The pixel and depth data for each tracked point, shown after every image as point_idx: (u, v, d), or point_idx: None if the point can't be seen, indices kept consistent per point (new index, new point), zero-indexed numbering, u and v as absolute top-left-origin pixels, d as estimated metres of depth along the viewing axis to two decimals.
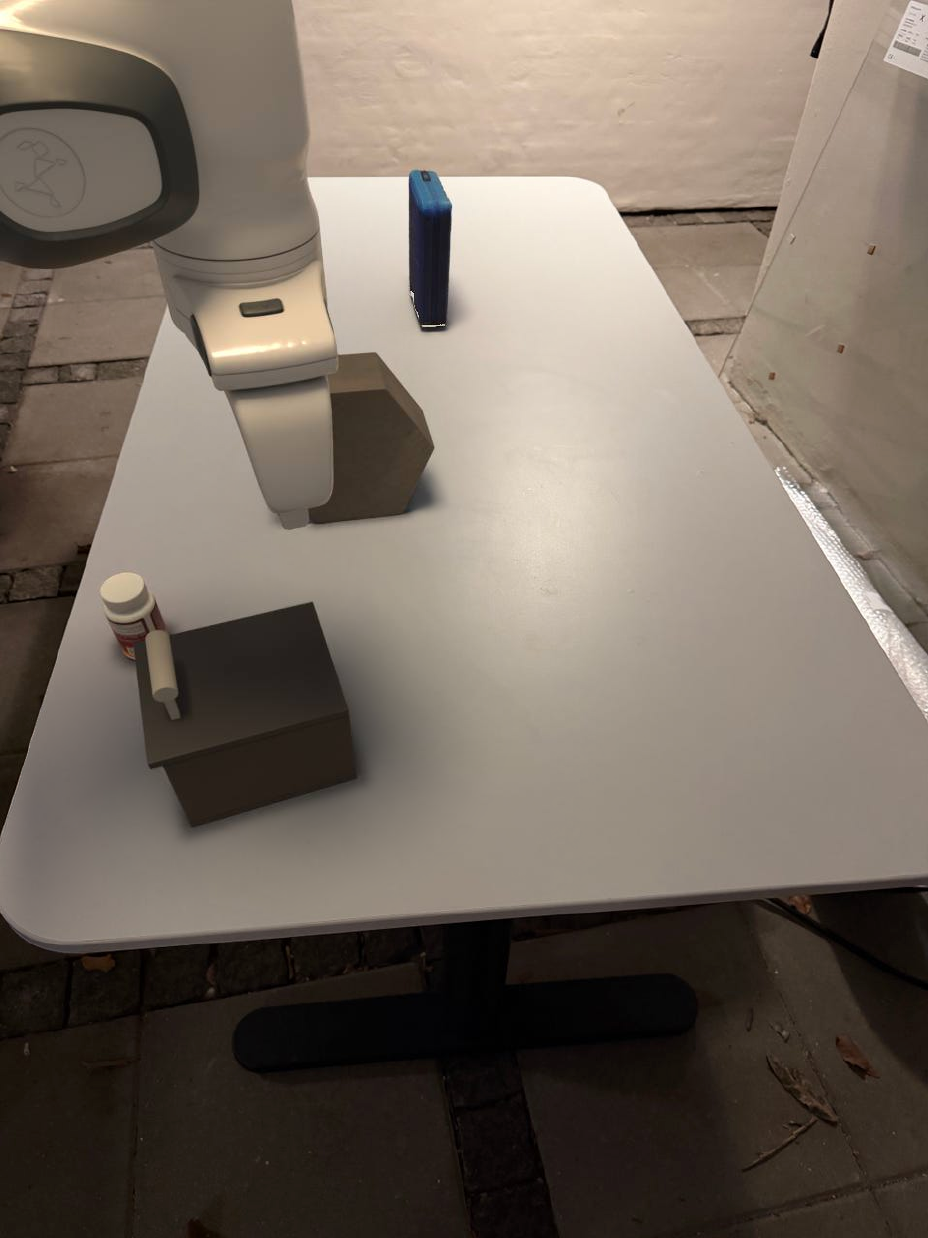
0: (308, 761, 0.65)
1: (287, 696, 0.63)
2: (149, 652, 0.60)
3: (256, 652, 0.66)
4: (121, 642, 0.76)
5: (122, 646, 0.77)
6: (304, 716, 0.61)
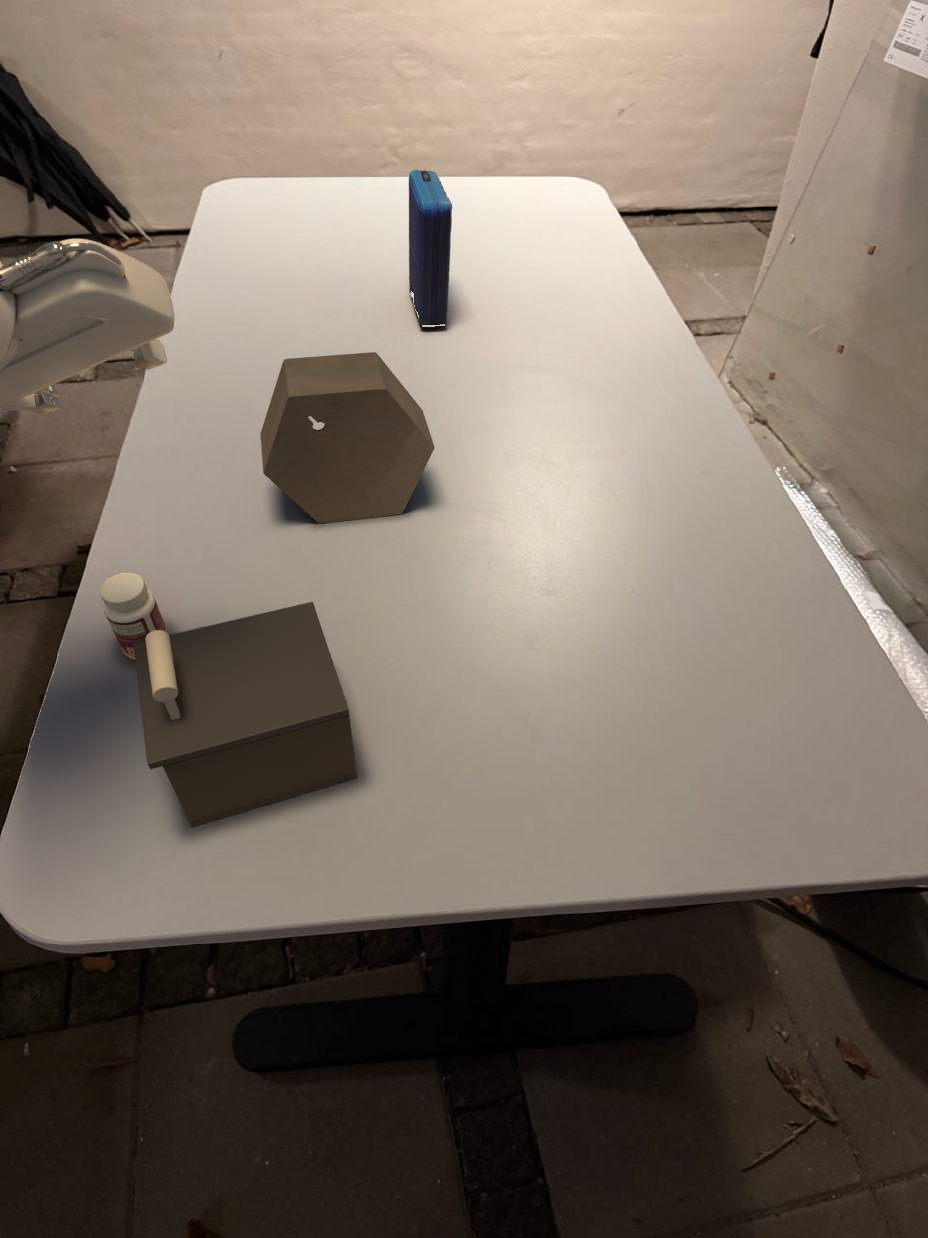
0: (308, 761, 0.65)
1: (287, 696, 0.63)
2: (149, 652, 0.60)
3: (256, 652, 0.66)
4: (121, 642, 0.76)
5: (122, 646, 0.77)
6: (304, 716, 0.61)
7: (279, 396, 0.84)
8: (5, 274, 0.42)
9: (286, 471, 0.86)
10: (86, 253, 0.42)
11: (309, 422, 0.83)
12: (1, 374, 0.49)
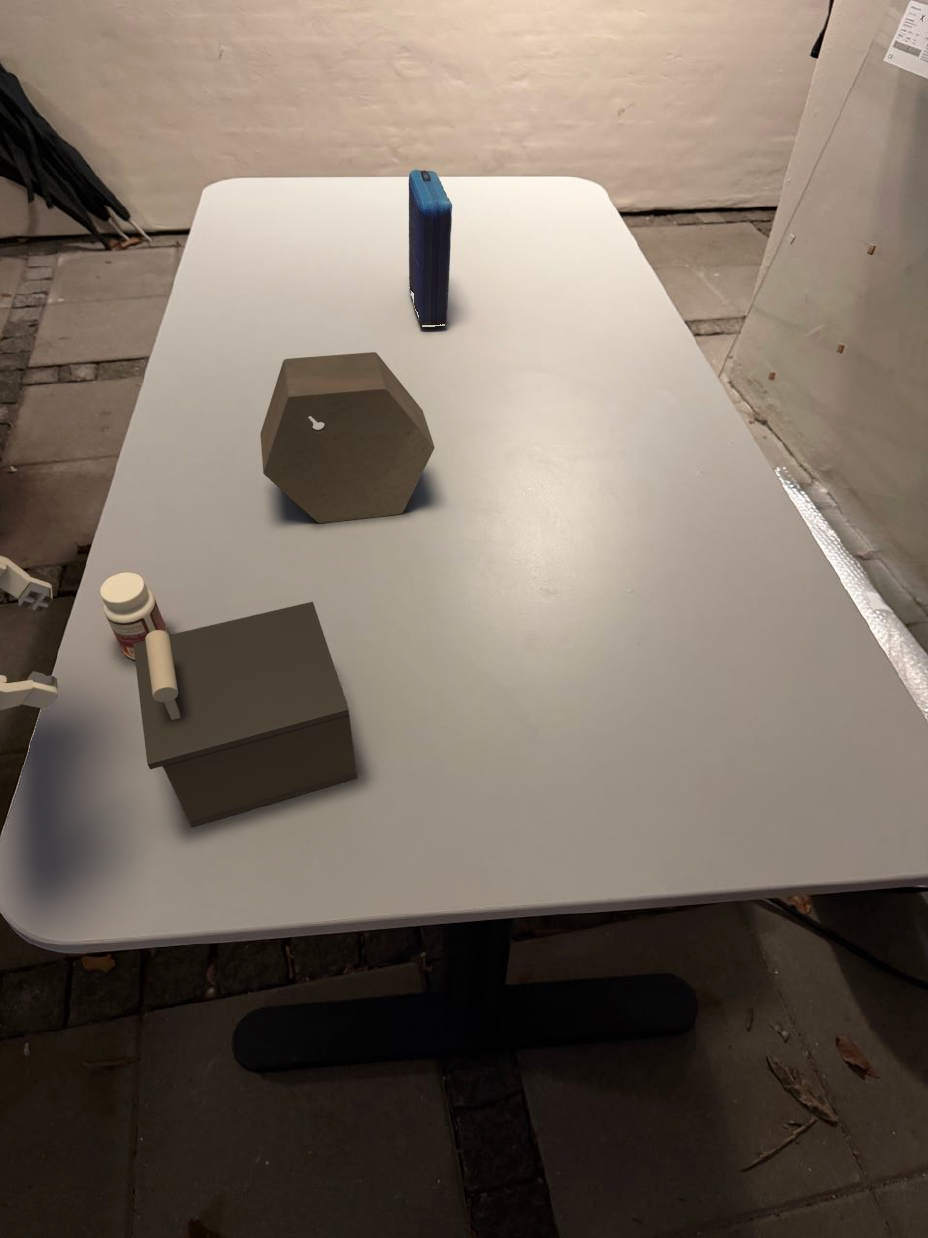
0: (308, 761, 0.65)
1: (287, 696, 0.63)
2: (149, 652, 0.60)
3: (256, 652, 0.66)
4: (121, 642, 0.76)
5: (122, 646, 0.77)
6: (304, 716, 0.61)
7: (279, 396, 0.84)
8: None
9: (286, 471, 0.86)
10: None
11: (309, 422, 0.83)
12: None
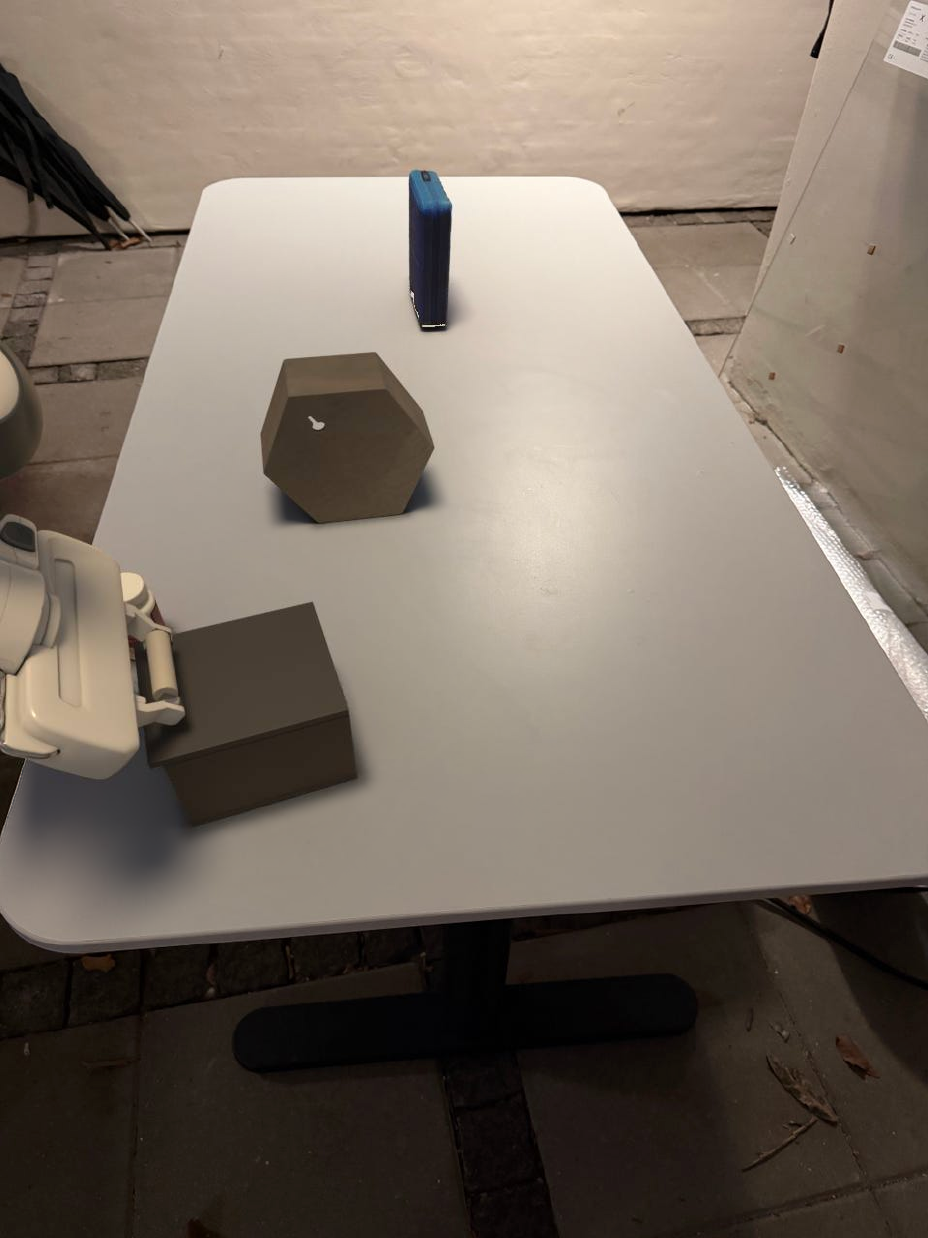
0: (308, 761, 0.65)
1: (287, 696, 0.63)
2: (149, 652, 0.60)
3: (256, 652, 0.66)
4: None
5: None
6: (304, 716, 0.61)
7: (279, 396, 0.84)
8: None
9: (286, 471, 0.86)
10: (0, 747, 0.46)
11: (309, 422, 0.83)
12: None
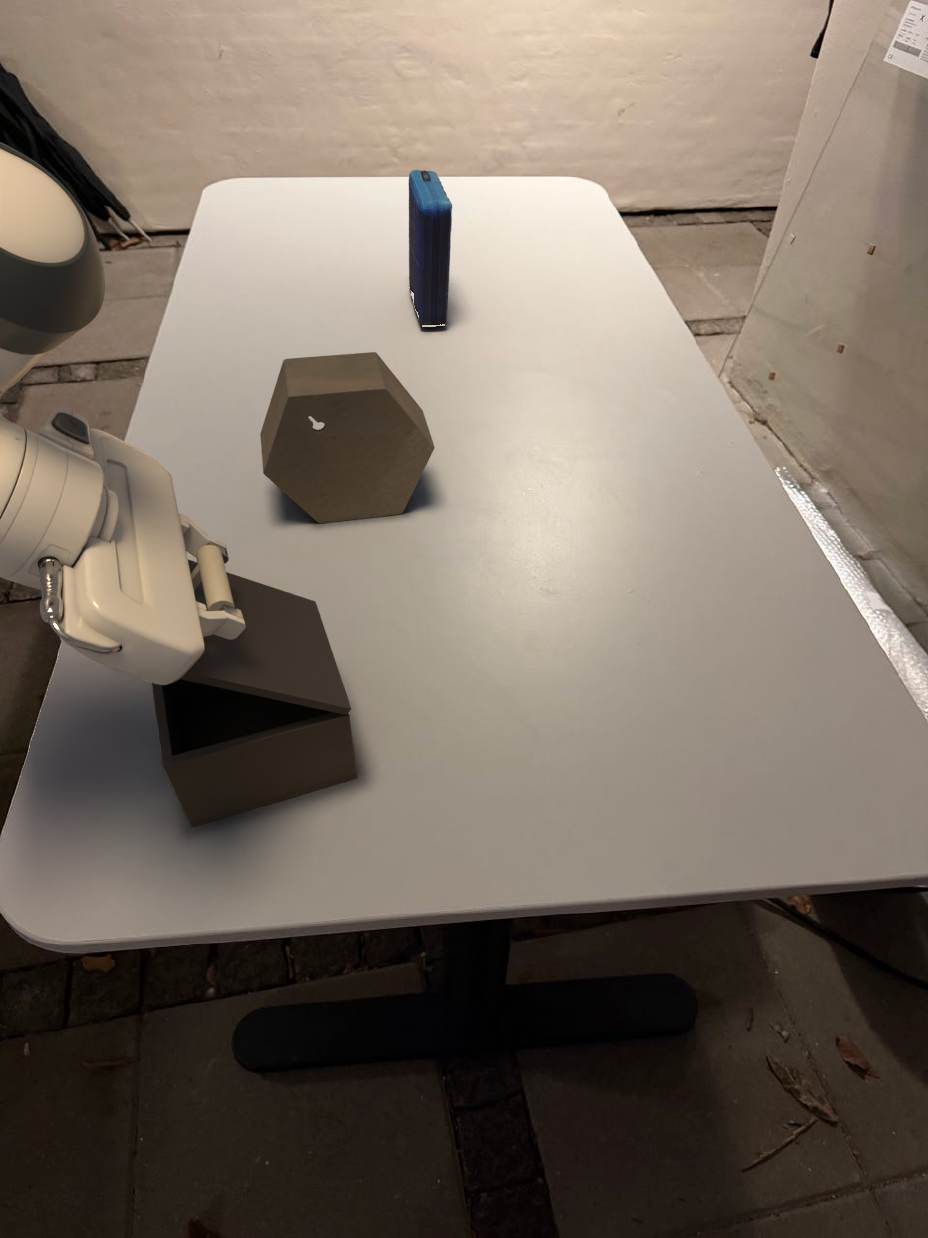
0: (308, 761, 0.65)
1: (298, 671, 0.61)
2: (208, 562, 0.56)
3: (269, 618, 0.63)
4: None
5: None
6: (315, 696, 0.60)
7: (279, 396, 0.84)
8: (39, 575, 0.44)
9: (286, 471, 0.86)
10: (60, 638, 0.42)
11: (309, 422, 0.83)
12: None
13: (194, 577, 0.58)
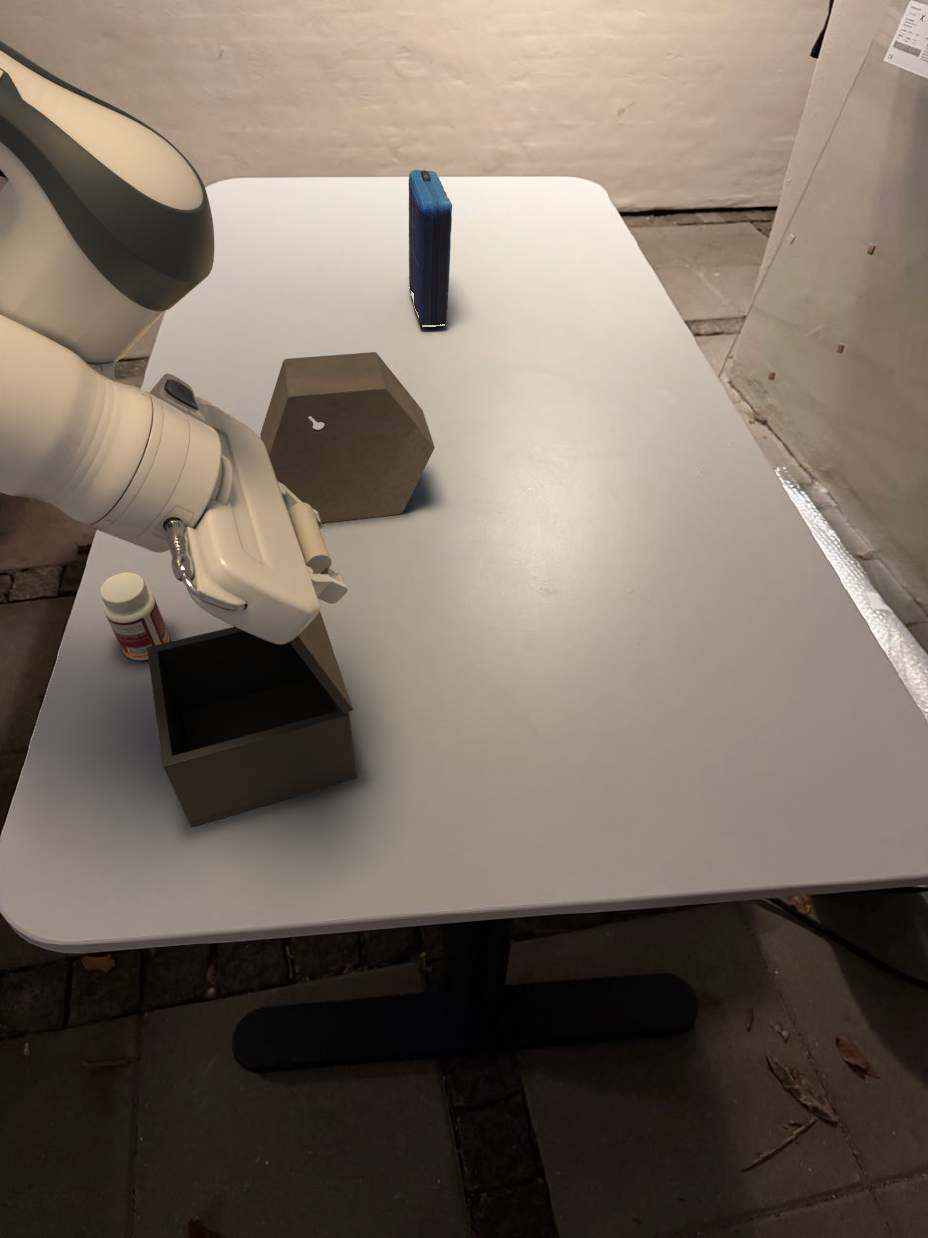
0: (308, 761, 0.65)
1: (324, 655, 0.61)
2: (310, 518, 0.56)
3: None
4: (121, 642, 0.76)
5: (122, 646, 0.77)
6: (336, 683, 0.60)
7: (279, 396, 0.84)
8: (166, 535, 0.45)
9: (286, 471, 0.86)
10: (192, 595, 0.43)
11: (309, 422, 0.83)
12: None
13: None
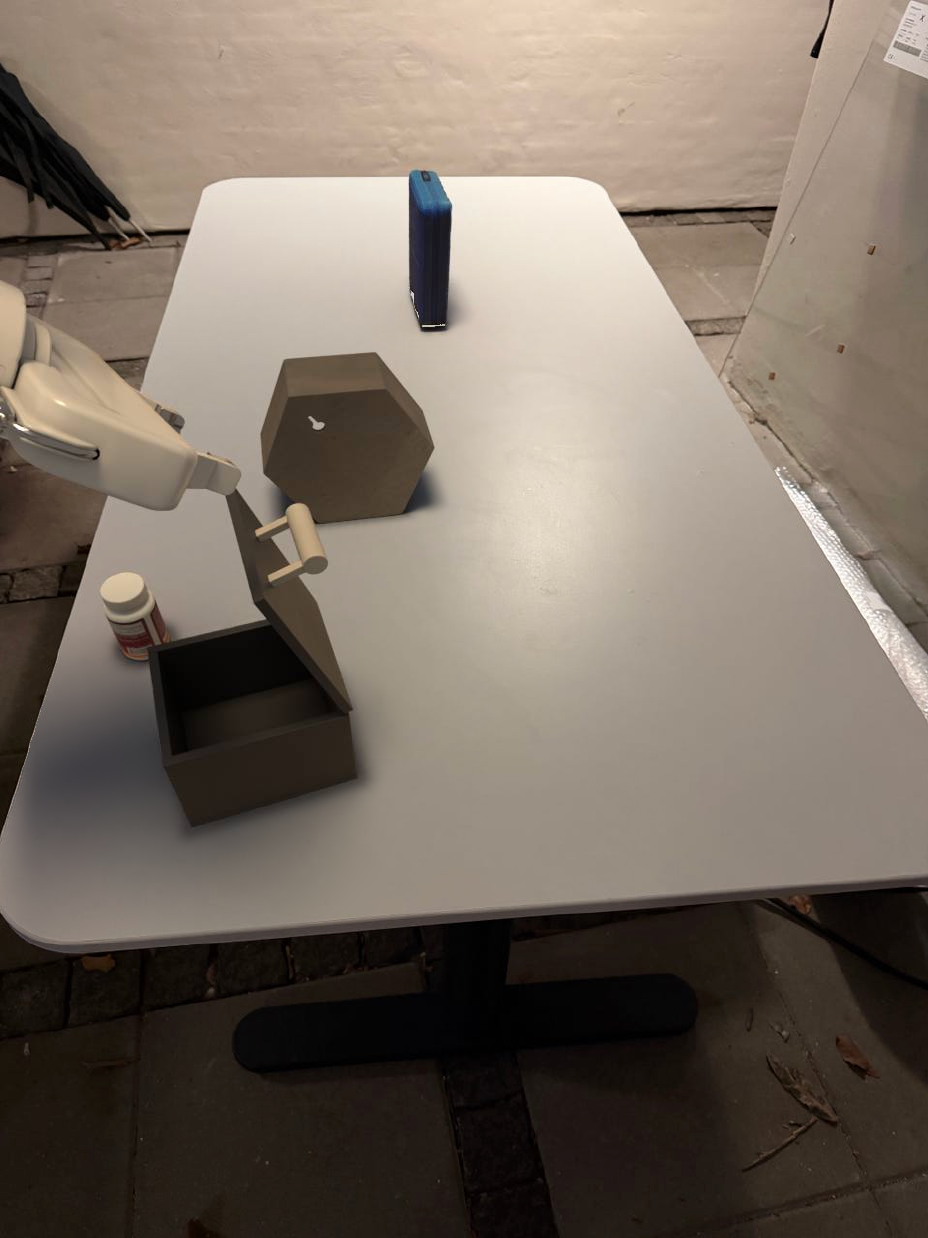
0: (308, 761, 0.65)
1: (323, 655, 0.61)
2: (306, 519, 0.56)
3: (300, 597, 0.63)
4: (121, 642, 0.76)
5: (122, 646, 0.77)
6: (335, 684, 0.60)
7: (279, 396, 0.84)
8: None
9: (286, 471, 0.86)
10: (19, 437, 0.33)
11: (309, 422, 0.83)
12: None
13: (275, 527, 0.57)
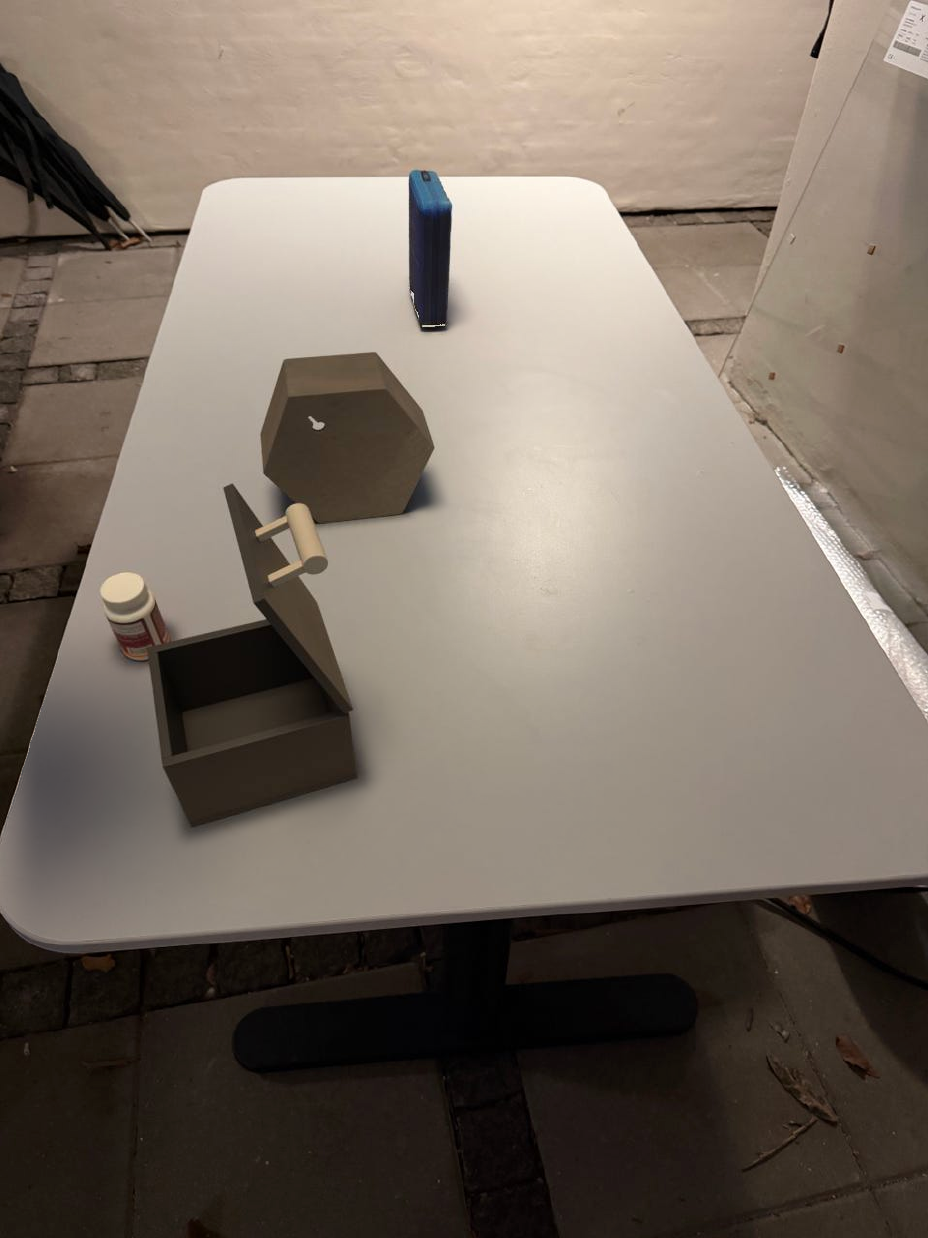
0: (308, 761, 0.65)
1: (323, 655, 0.61)
2: (306, 519, 0.56)
3: (300, 597, 0.63)
4: (121, 642, 0.76)
5: (122, 646, 0.77)
6: (335, 684, 0.60)
7: (279, 396, 0.84)
8: None
9: (286, 471, 0.86)
10: None
11: (309, 422, 0.83)
12: None
13: (275, 527, 0.57)
